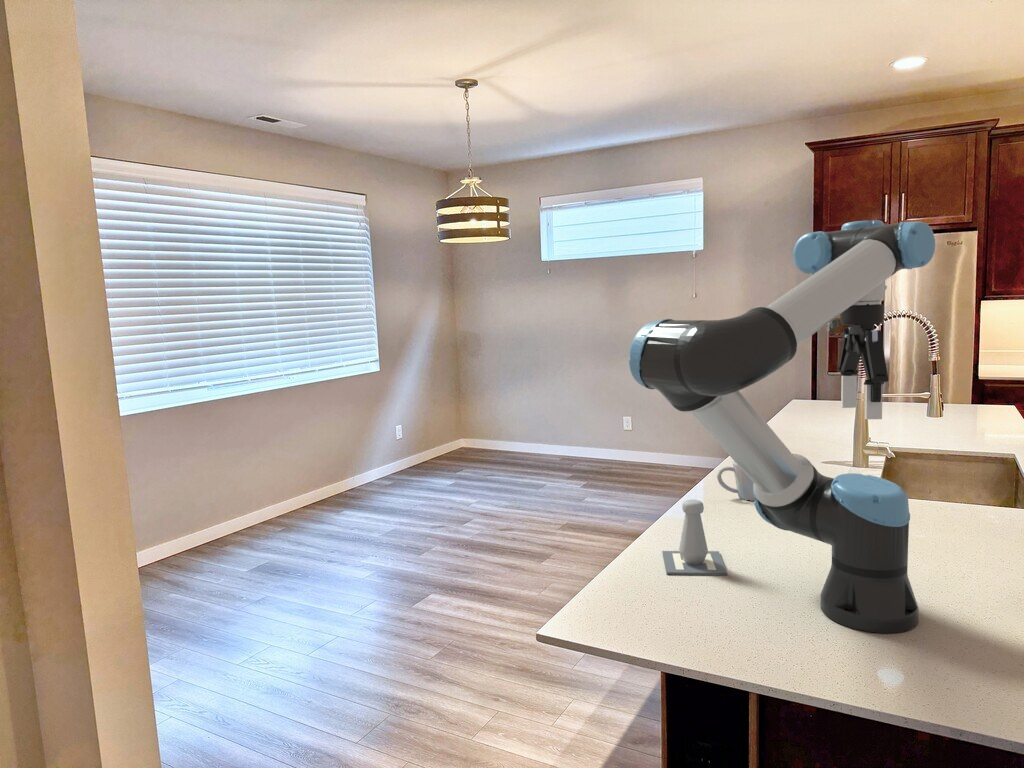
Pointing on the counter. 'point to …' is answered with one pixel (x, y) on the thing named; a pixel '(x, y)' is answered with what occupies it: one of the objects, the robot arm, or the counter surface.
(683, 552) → the salt shaker
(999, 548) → the counter surface
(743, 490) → the mug
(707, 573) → the letter card
